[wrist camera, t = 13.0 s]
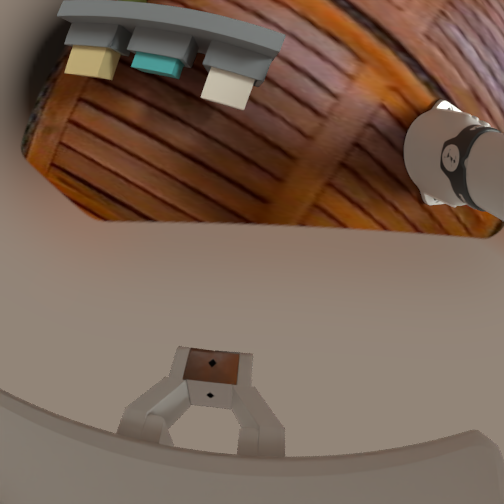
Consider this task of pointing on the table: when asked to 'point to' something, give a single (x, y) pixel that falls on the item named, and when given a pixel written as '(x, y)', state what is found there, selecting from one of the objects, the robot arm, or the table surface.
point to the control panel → (173, 34)
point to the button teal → (158, 64)
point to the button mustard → (92, 62)
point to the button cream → (227, 88)
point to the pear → (135, 0)
